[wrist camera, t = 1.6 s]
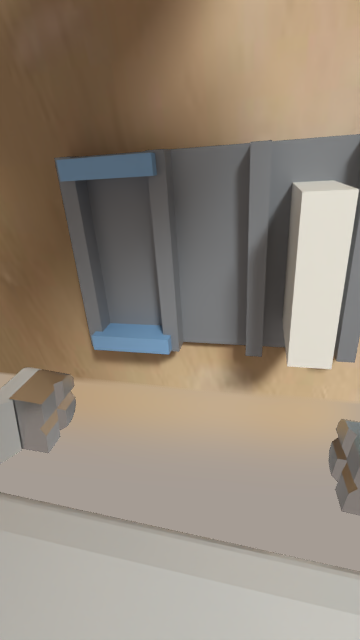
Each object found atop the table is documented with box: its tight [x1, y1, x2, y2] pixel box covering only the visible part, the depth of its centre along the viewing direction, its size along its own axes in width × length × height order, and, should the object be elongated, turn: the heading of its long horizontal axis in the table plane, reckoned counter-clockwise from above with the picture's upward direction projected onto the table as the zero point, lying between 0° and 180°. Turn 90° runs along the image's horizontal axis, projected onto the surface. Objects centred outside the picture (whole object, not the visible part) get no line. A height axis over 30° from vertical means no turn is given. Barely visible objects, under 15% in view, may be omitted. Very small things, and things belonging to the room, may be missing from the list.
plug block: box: [282, 180, 359, 369], centre depth 25 cm, size 12×3×8 cm, turn 3°
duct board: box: [54, 134, 360, 362], centre depth 30 cm, size 18×26×4 cm
